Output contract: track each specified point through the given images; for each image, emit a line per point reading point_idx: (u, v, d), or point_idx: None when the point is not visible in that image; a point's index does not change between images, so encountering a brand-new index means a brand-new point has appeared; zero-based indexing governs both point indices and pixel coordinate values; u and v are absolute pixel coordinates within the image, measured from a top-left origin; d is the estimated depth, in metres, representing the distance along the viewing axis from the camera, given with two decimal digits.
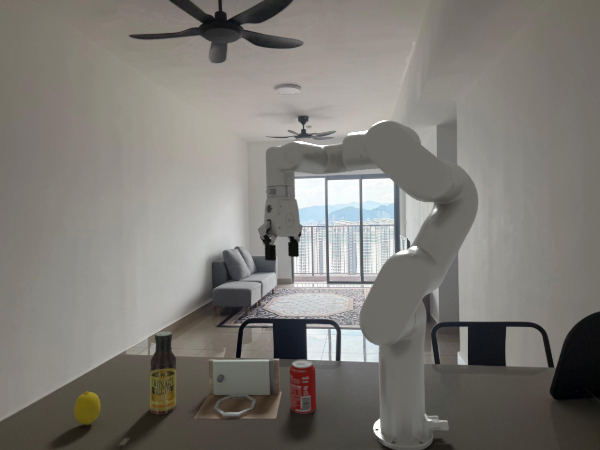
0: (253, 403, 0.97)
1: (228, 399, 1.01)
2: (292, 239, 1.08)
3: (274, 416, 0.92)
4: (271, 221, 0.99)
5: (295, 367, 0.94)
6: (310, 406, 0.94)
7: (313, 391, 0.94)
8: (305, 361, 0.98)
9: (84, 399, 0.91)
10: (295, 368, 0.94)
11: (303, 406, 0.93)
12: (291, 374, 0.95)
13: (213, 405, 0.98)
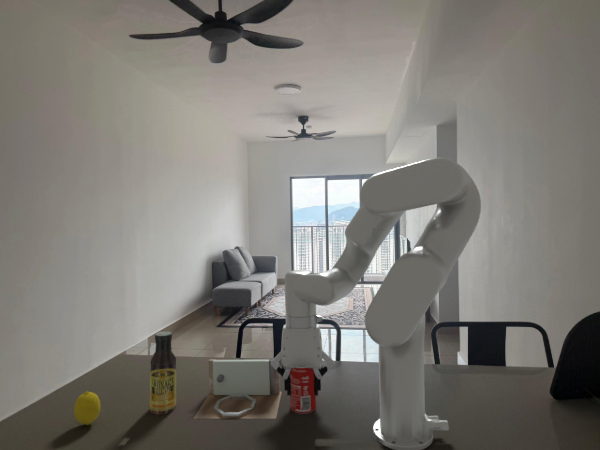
0: (253, 403, 0.97)
1: (228, 399, 1.01)
2: None
3: (274, 416, 0.92)
4: None
5: None
6: (310, 406, 0.94)
7: (312, 391, 0.94)
8: None
9: (84, 399, 0.91)
10: (294, 368, 0.94)
11: (303, 406, 0.93)
12: (291, 374, 0.95)
13: (213, 405, 0.98)
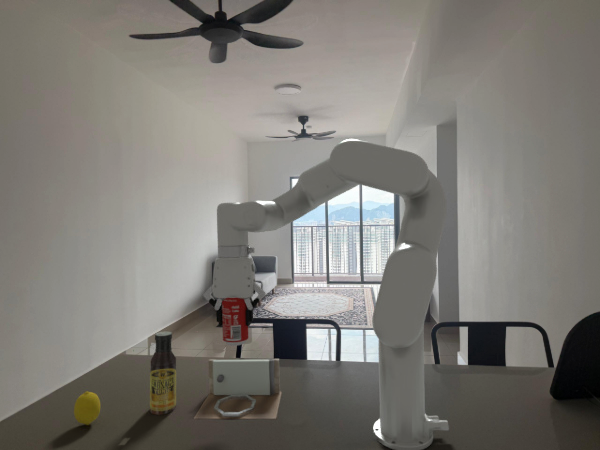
0: (253, 403, 0.97)
1: (228, 399, 1.01)
2: (220, 305, 0.97)
3: (274, 416, 0.92)
4: None
5: None
6: (240, 335, 0.94)
7: (243, 321, 0.95)
8: None
9: (84, 399, 0.91)
10: (226, 298, 0.95)
11: (233, 335, 0.94)
12: (222, 304, 0.95)
13: (213, 405, 0.98)
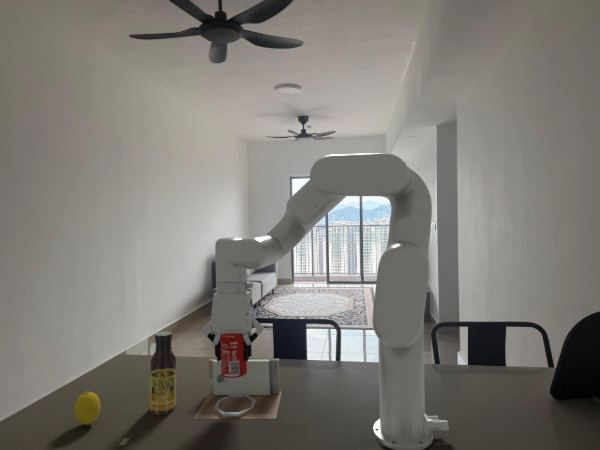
0: (253, 403, 0.97)
1: (228, 399, 1.01)
2: (218, 340, 0.97)
3: (274, 416, 0.92)
4: (253, 315, 0.97)
5: None
6: (238, 371, 0.94)
7: (242, 357, 0.95)
8: None
9: (84, 399, 0.91)
10: None
11: (232, 371, 0.94)
12: (221, 339, 0.95)
13: (213, 405, 0.98)
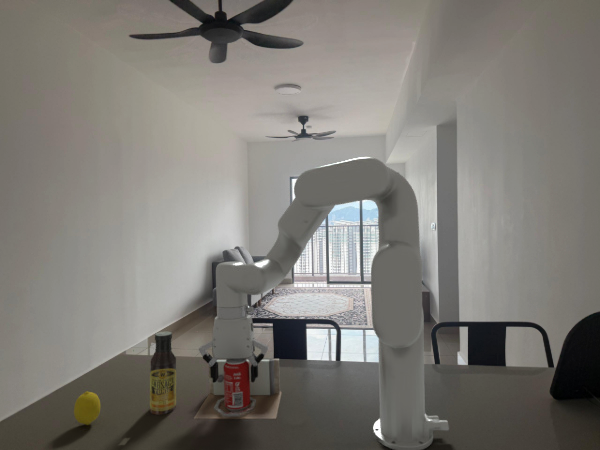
0: (253, 403, 0.97)
1: None
2: None
3: (274, 416, 0.92)
4: (254, 339, 0.98)
5: (228, 363, 0.95)
6: (242, 402, 0.94)
7: (245, 388, 0.95)
8: None
9: (84, 399, 0.91)
10: (227, 364, 0.95)
11: (235, 402, 0.94)
12: (224, 370, 0.95)
13: (213, 405, 0.98)
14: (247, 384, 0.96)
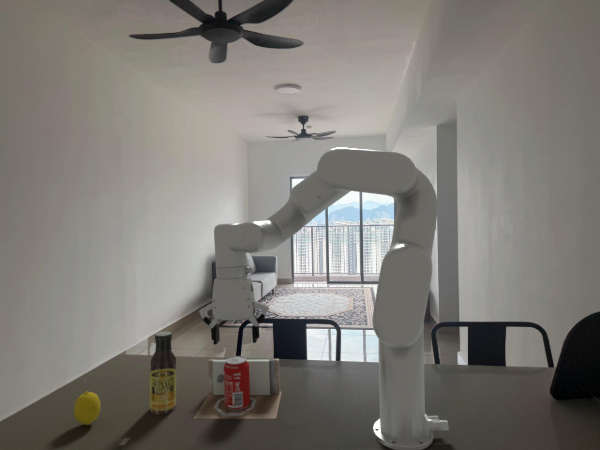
0: (253, 403, 0.97)
1: None
2: None
3: (274, 416, 0.92)
4: (254, 300, 0.97)
5: (228, 363, 0.95)
6: (242, 402, 0.94)
7: (245, 388, 0.95)
8: (240, 358, 0.98)
9: (84, 399, 0.91)
10: (227, 364, 0.95)
11: (235, 402, 0.94)
12: (224, 370, 0.95)
13: (213, 405, 0.98)
14: (247, 384, 0.96)
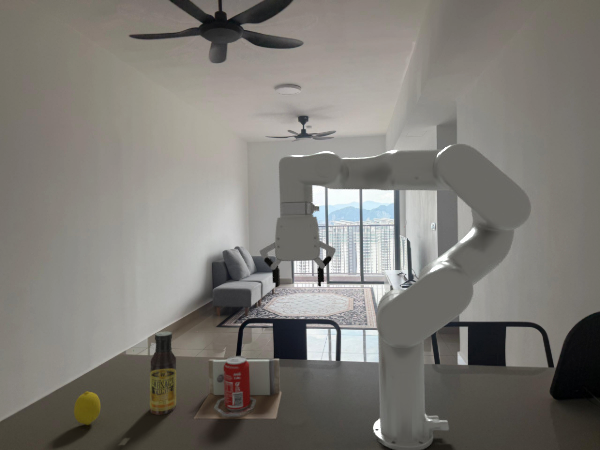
0: (253, 403, 0.97)
1: None
2: None
3: (274, 416, 0.92)
4: None
5: (228, 363, 0.95)
6: (242, 402, 0.94)
7: (245, 388, 0.95)
8: (240, 358, 0.98)
9: (84, 399, 0.91)
10: (227, 364, 0.95)
11: (235, 402, 0.94)
12: (224, 370, 0.95)
13: (213, 405, 0.98)
14: (247, 384, 0.96)
